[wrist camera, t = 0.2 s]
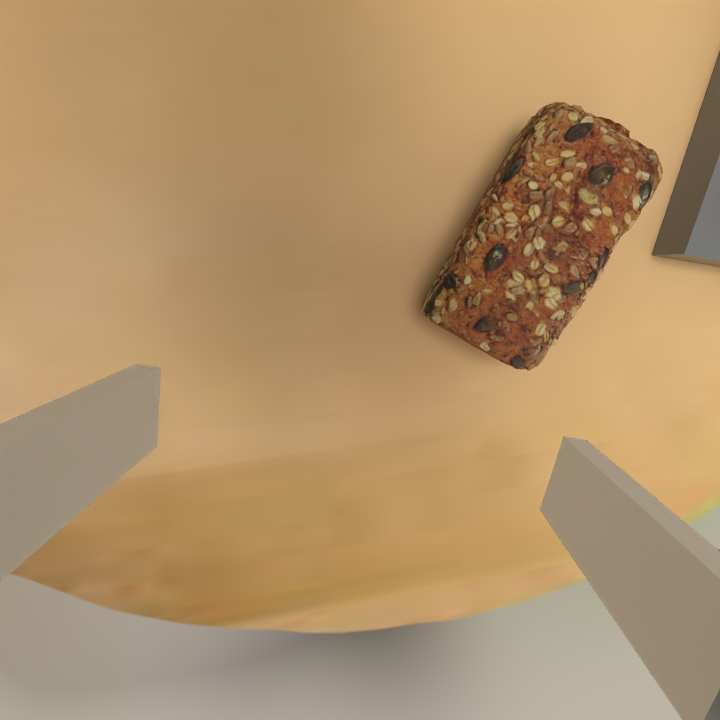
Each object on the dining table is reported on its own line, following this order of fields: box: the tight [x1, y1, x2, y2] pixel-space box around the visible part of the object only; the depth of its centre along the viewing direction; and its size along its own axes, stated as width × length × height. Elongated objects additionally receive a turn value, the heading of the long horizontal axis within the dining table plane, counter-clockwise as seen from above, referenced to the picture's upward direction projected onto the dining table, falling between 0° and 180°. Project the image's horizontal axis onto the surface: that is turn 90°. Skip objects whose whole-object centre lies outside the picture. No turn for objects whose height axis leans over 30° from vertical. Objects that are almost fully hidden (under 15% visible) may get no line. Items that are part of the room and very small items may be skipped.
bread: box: [421, 103, 663, 371], centre depth 33 cm, size 19×11×10 cm, turn 151°
